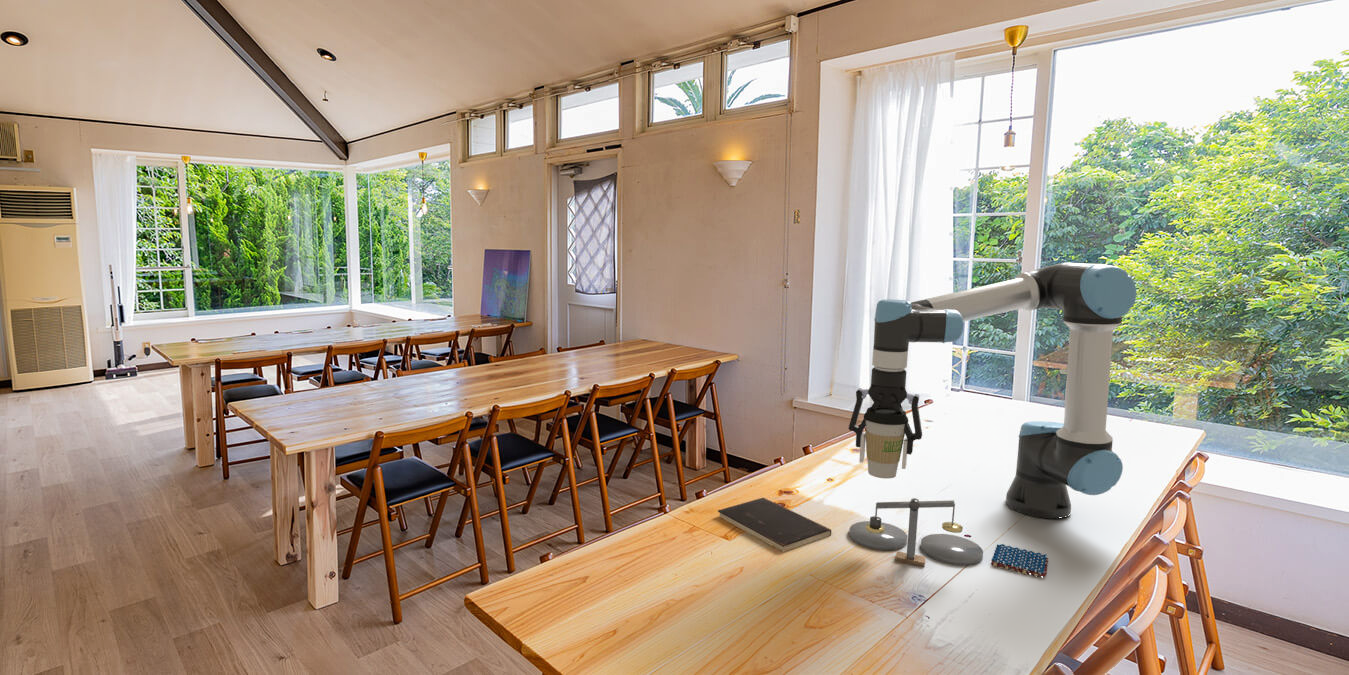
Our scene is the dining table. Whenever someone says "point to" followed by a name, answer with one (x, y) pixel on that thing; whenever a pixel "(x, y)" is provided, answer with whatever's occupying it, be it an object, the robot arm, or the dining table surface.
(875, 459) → the coffee cup
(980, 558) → the grey flat disc
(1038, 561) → the woven mat
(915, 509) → the balance
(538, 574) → the dining table surface
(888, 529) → the dish low side
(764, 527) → the hardcover book
